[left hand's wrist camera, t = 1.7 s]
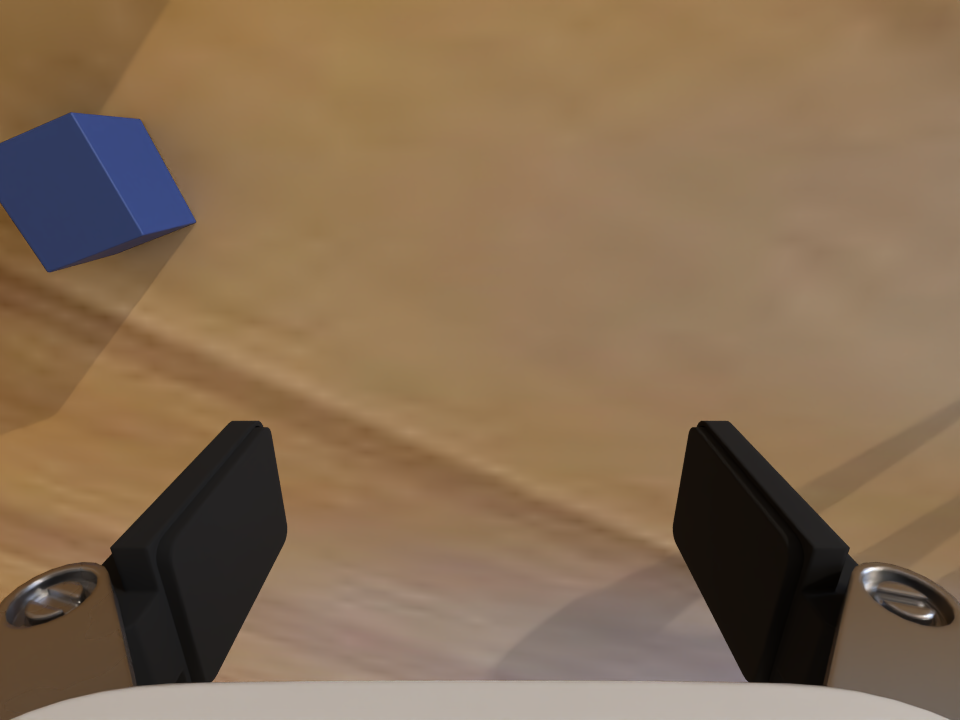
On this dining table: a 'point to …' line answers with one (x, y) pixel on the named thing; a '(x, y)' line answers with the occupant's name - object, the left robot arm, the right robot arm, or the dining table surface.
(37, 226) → the block
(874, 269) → the dining table surface
